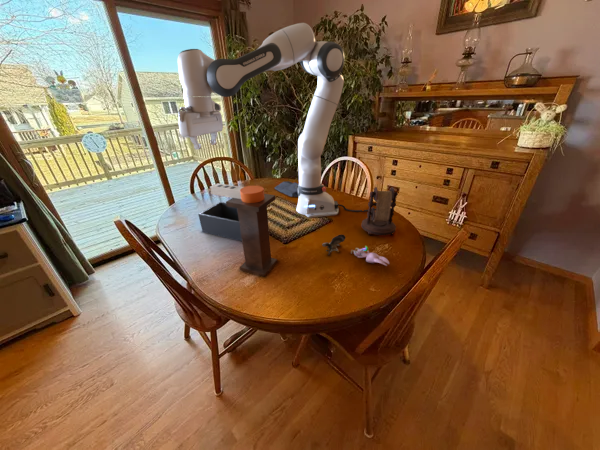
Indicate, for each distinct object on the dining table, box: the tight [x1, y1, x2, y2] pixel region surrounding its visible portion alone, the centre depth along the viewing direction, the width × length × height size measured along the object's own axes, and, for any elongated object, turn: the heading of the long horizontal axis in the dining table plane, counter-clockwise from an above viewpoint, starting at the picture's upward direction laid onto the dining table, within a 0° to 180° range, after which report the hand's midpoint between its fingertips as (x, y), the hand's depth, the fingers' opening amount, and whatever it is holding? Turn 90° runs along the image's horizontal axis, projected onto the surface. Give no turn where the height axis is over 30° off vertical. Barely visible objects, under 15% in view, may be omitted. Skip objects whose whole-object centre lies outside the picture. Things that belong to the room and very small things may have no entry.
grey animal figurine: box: [321, 233, 347, 256], centre depth 91 cm, size 8×7×9 cm
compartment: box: [197, 201, 242, 242], centre depth 106 cm, size 23×15×9 cm, turn 67°
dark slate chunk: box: [274, 180, 299, 198], centre depth 151 cm, size 15×22×5 cm
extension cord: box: [209, 183, 265, 203], centre depth 73 cm, size 18×7×3 cm, turn 67°
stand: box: [225, 193, 278, 278], centre depth 79 cm, size 11×10×26 cm
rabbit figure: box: [350, 245, 390, 267], centre depth 85 cm, size 6×6×15 cm
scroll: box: [360, 186, 399, 236], centre depth 102 cm, size 15×15×20 cm
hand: (206, 146), depth 90 cm, fingers open, 8 cm apart
